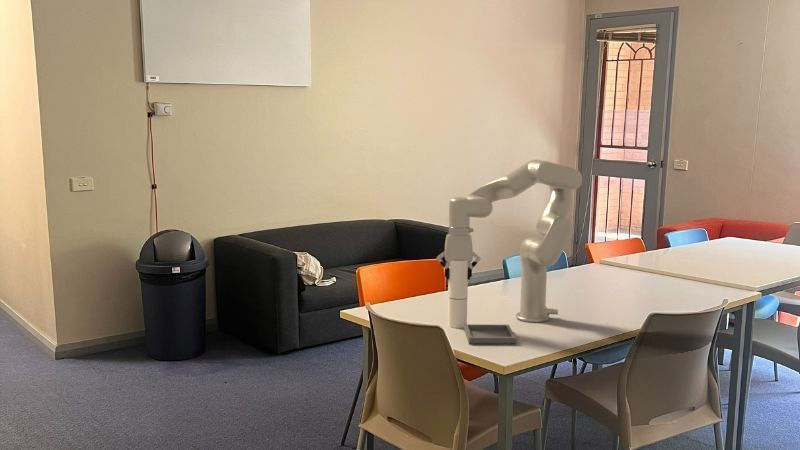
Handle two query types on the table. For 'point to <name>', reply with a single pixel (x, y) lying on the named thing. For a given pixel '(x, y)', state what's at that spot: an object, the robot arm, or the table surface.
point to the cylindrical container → (457, 294)
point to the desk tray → (489, 335)
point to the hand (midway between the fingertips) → (458, 278)
